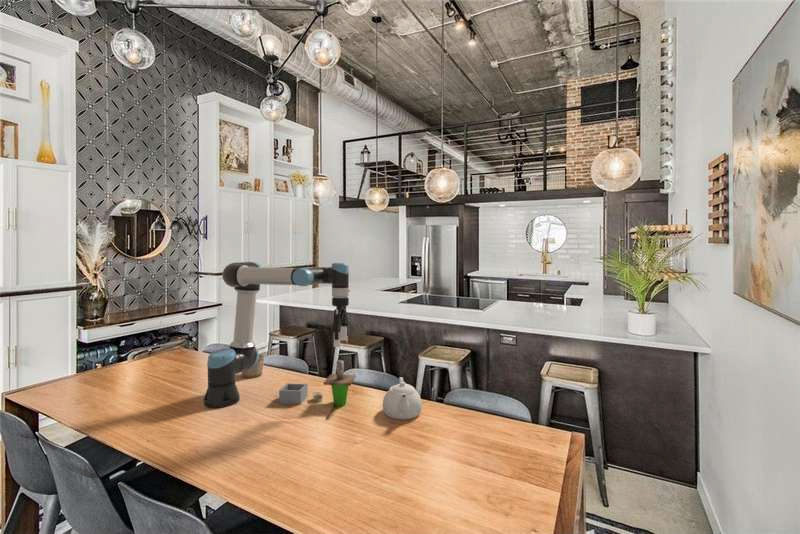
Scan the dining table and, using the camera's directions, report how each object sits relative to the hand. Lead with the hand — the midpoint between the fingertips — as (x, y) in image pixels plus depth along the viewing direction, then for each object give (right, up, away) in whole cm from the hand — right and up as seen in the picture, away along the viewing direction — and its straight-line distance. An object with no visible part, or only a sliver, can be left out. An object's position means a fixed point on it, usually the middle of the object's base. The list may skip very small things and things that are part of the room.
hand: (340, 343), depth 181 cm
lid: (0, -17, +1) cm, 17 cm away
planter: (-56, -27, +43) cm, 76 cm away
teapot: (+28, -29, -7) cm, 41 cm away
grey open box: (-22, -28, +4) cm, 36 cm away
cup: (0, -28, +1) cm, 28 cm away
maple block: (-11, -28, +4) cm, 30 cm away
